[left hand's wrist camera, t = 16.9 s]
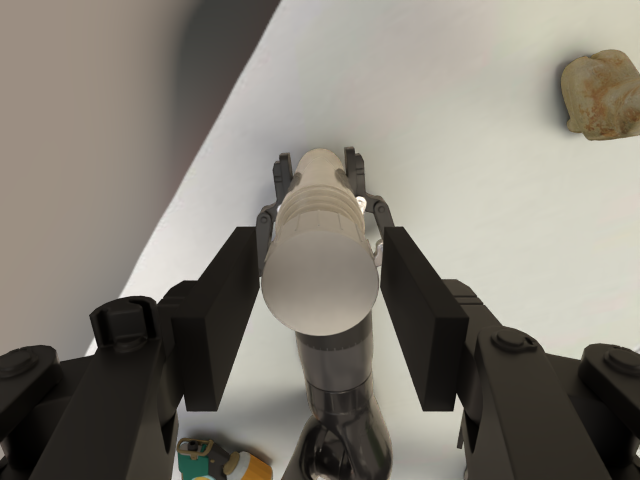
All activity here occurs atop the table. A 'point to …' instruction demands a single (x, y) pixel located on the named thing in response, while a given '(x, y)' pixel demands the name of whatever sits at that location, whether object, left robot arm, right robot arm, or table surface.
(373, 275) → the cap
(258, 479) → the spray gun
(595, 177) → the table surface
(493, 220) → the table surface
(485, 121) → the table surface
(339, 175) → the bottle
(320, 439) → the right robot arm
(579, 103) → the sculpture
